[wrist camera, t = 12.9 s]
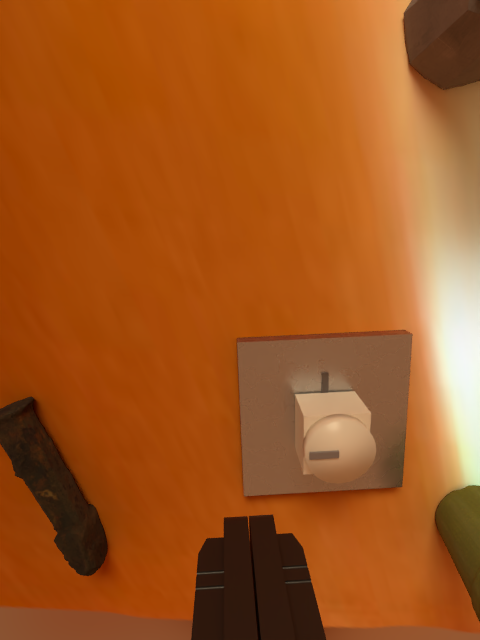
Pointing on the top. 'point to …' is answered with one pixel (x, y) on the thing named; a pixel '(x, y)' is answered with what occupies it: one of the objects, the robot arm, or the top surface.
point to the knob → (333, 436)
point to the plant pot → (463, 536)
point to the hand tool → (53, 487)
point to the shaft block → (320, 377)
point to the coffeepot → (444, 40)
